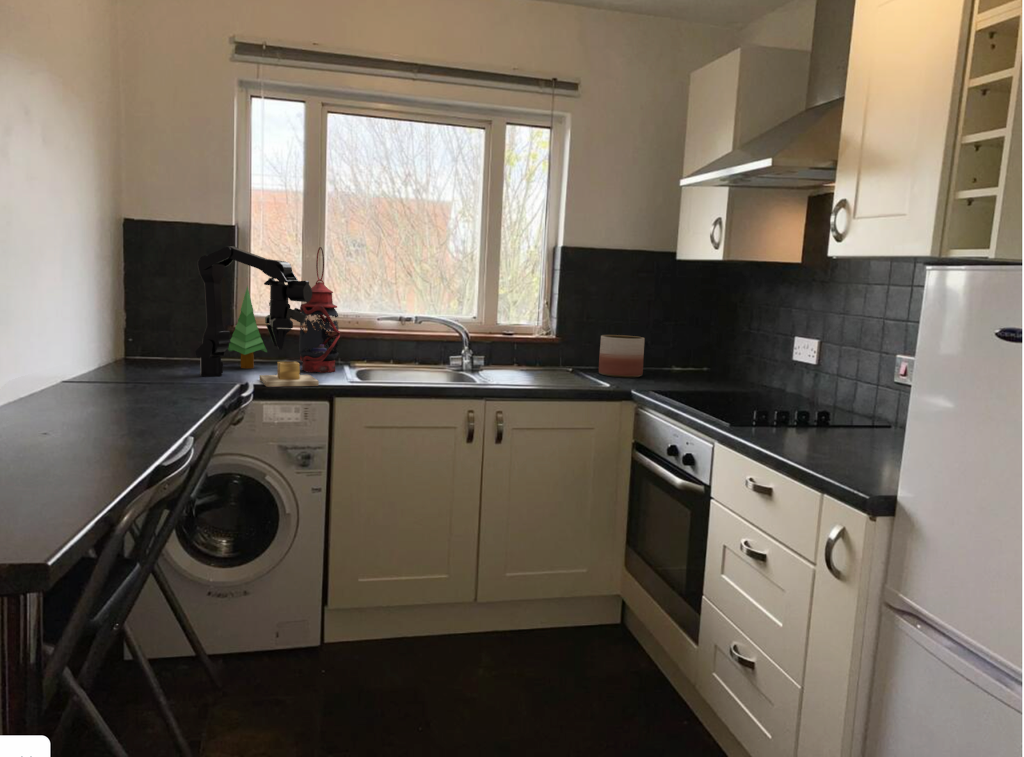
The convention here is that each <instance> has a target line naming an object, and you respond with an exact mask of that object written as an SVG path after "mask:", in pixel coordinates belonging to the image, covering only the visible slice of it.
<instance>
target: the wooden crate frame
mask: <svg viewBox="0 0 1024 757" xmlns="http://www.w3.org/2000/svg"><path fill="white" fill-rule="evenodd" d="M300 368H301V364H300V363H299V362H298V361H277V375H278V378H279V379H300V375H301V374H300V373H301V370H300Z"/></svg>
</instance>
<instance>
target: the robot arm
mask: <svg viewBox="0 0 1024 757" xmlns="http://www.w3.org/2000/svg"><path fill="white" fill-rule="evenodd" d="M233 261H236V262H238V263H242V264H244V265H247V266H250V267H252V268H255V269H258V270H260V271H261V272H262V273H263V274H265V275H266V276H268V277H269V278H268V279H267V280H266V281H265V282H264V283H263V284H264V286H270V288H269V290H270V292H269V296H270V297H269V302H268V306H269V314H268V315H266V316H265V320H264V322H265V326H266V328H267V331H268V333H269V336H270V338H271V341H272V344H273V346H274V347H277V349H278V350H280V351H281V350H282V349H283V348H284V343H285V339H286V336H287V334H288V333H289V332H291V331H292V329H293V328H294V323H293V321H292V320H294V321H296V322H298V323H299V324H300V323H302V325H304V324H303V322H304V320H305V318H306V315H305V314H303V313H301V310H300V308H297V307H295V308H294V309H292V308H291V304H290V303H289V300H290V301H291V302H301V303H302V302H303V303H307V302H309V301H310V300H311V298H312V290H311V288H312V287H311V285H310V281H309V280H301V281H300V280H298V278H297V277H296V275H295V273H294V271H293V268H292V266H291V263H290V262H289V261H286V260H278V259H272V258H271V259H270V258H266V257H262V256H261V255H259V254H255V253H252V252H249V251H246V250H243V249H240V248H238V247H237V246H229V245H226V246H225V247H222V248H220V249H219V250H216V251H214V252H211V253H209V254H207V255H202V256H201V257H200V258H199V259H198V260H197V268H198V272H199V273H198V274H199V275H200V277H201V279H202V281H203V283H204V295H205V298H204V299H205V313H206V315H205V316H206V328H205V330H204V332H203V335H202V343H201V345H199V347H198V348H197V349H196V350H194V352H195V354H196V355H195V356H196V357H197V358H199V359H200V360H199V361H200V372H199V374H200V376H201V377H219V376H223V373H224V361H223V360H222V357H225V354H226V351H227V350H228V348H229V343H231V341H230V339H231V338H230V336H231V333H230V331H229V330H226V329H225V328H224V325H223V311H222V310H223V309H222V307H223V305H222V293H221V292H222V290H221V282H222V280H223V278H224V275H225V268H226V267H228V266H230V265H231V264H232V263H233ZM306 319H307V318H306ZM304 323H305V322H304Z"/></svg>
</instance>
